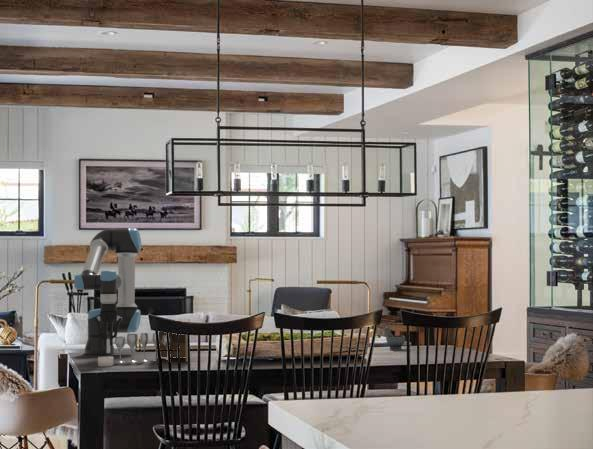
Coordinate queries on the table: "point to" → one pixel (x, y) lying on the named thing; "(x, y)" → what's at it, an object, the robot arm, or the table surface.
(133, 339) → the goblet set
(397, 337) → the mortar and pestle
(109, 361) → the cream squat rounded piece
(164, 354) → the walnut shelf
